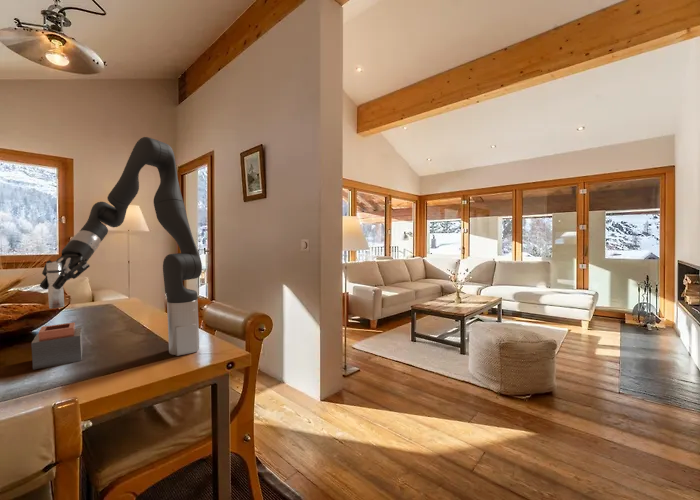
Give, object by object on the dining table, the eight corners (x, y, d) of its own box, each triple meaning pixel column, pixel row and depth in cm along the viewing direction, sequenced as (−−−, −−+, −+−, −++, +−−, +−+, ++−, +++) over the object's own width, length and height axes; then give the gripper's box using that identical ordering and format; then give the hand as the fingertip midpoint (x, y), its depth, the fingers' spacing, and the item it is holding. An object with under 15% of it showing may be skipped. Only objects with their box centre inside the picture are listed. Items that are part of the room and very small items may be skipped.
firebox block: (81, 360, 103) (79, 327, 102) (32, 369, 96) (30, 334, 95) (82, 350, 111) (80, 320, 111) (38, 358, 104) (36, 326, 104)
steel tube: (64, 307, 102) (61, 263, 102) (48, 309, 100) (45, 263, 99) (65, 305, 105) (62, 262, 105) (49, 306, 103) (46, 262, 102)
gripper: (55, 239, 110) (18, 280, 98) (94, 239, 109) (61, 280, 97) (70, 254, 115) (37, 294, 104) (108, 253, 114) (78, 294, 103)
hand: (49, 287), depth 100 cm, fingers closed on steel tube, 3 cm apart
